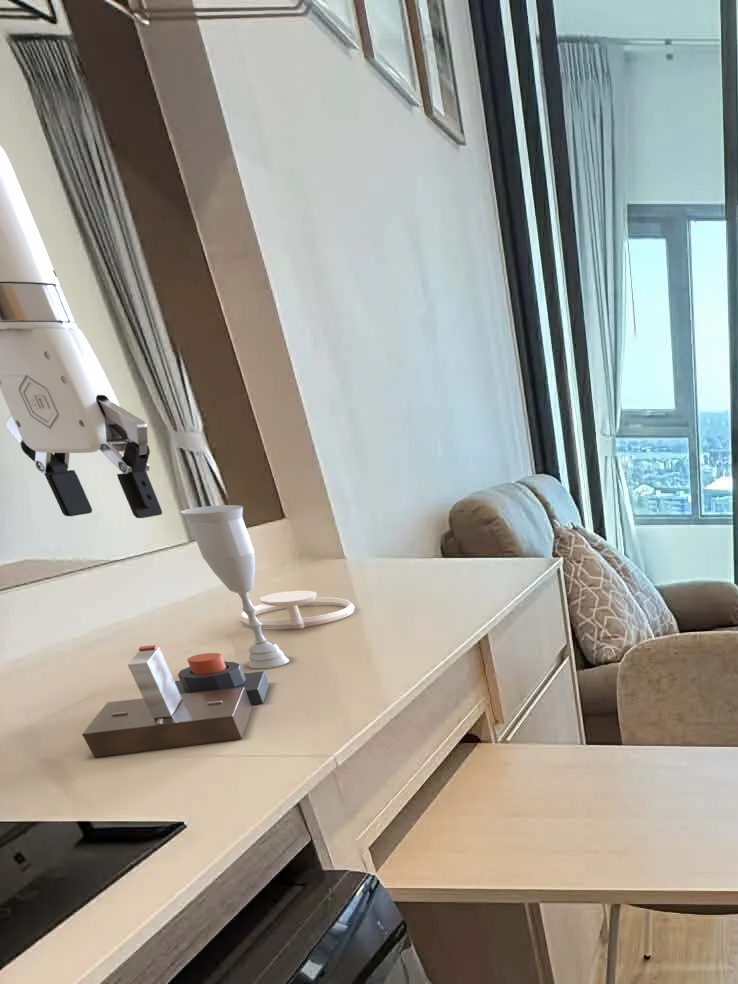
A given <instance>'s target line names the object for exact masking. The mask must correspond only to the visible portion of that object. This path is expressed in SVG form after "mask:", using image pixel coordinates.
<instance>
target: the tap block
mask: <svg viewBox="0 0 738 984" xmlns="http://www.w3.org/2000/svg"><path fill="white" fill-rule="evenodd" d="M180 695H181V698H182V699H181V701H180V703H179V704H178V706H177V708H176V710H175V711H174V713H173V715H172V716H171V717H162V718H152V715H151V713H150V711H149V709H148V707H147V705H146V703H145V701H144V698H143V697H142V698H134V699H125V700H117V701H107V702H106V703H105V705H104V706H103V707H102V709H100V710H99V712H98V714H97V715H95V717H94V718H93V719H92V721H91V722H90V723H89V725H87V727H86V728H85V730H84V731H83V732H82V734H81V735H82V737H83V739H84V740H85V743H86V745H87V747H88V748H89V750H90V752H91V754H92V756H93V758H103V757H113V756H118V755H120V756H121V755H125V754H126V755H128V754H133V753H134V754H135V753H142V752H151V751H158V750H167V749H173V748H174V749H175V748H181V747H183V748H184V747H189V746H197V745H204V744H205V745H207V744H213V743H221V742H229V741H236V740H242V739H243V736H244V734H245V732H246V731H245V730H246V728H247V725H248V722H249V720H250V717H251V714H252V711H253V705H251V703H250V700H249V698H248V695H247V693H246V690H245V688H244V687H239V688H230V689H222V690H213V691H204V692H195V693H186V694H180Z"/></svg>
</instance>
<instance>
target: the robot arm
mask: <svg viewBox="0 0 738 984" xmlns="http://www.w3.org/2000/svg"><path fill="white" fill-rule="evenodd" d="M0 391H1V393H2V396H3V399H4V401H5V404H6V406H7V409H8V411H9V413H10V414H9V416H8V418H7V419H6V420H5V422H4V424H5V428H6V429H7V430H8V432H9V434H11V436H12V437H13V438H14V439H15V440H16V442H17V443H18V444H19V445H20V448H21V450H22V451H23V453H24V454H25V455H26V456H27V457H28V458H30V459H31V460H32V461H33V462H34V465H35V468H36V469H37V471H39V472H40V473H42V474H44V476H45V479H46V481H47V483H48V485H49V487H50V489H51V492H52V493H53V496H54V498H55V500H56V502H57V504H58V506H59V509H60V511H61V513H62V515H63V516H65V517H75V516H81V515H88V514H91V513H92V512H93V508H92V505H91V503H90V501H89V499H88V496H87V495H86V492H85V490H84V488H83V485H82V484H81V481H80V479H79V476H78V474H77V473H76V471H75V469H69V463H70V454H88V453H95V452H98V451H99V450H100V451H101V453H102V454H103V455H104V456H105V457H106V458H107V459H108V461H110V462H111V463H112V464H113V465H114V466H115V467H116V468H117V469H118V470H119V472H121V473H117V474H116V475H117V479H118V481H119V484H120V486H121V489H122V491H123V494H124V496H125V499H126V501H127V503H128V505H129V508H130V510H131V513H132V515H133V516H134V517H135V518H137V519H146V518H150V517H156V516H161V515H162V514H163V510H162V507H161V505H160V502H159V500H158V497H157V495H156V493H155V490H154V488H153V485H152V483H151V480H150V478H149V475H148V473H147V472H149V471H150V464H149V462H148V460H149V458H150V453H151V450H150V449H151V448H150V446H149V445H148V444H149V440H148V439H149V438H148V437H149V436H148V427H147V426H148V425H147V424H146V422H145V421H144V420H143V419H142V418H140V417H138V416H136V415H134V414H133V413H132V412H129V411H128V410H126V409H125V408H123V407H121V406H120V404H119V402H118V399H117V397H116V395H115V393H114V391H113V388H112V387H111V384H110V382H109V380H108V377H107V376H106V374H105V371H104V370H103V368H102V365H101V364H100V362H99V360H98V358H97V356H96V354H95V352H94V350H93V349H92V347H91V345H90V343H89V342H88V339H87V338H86V336H85V335H84V333H83V331H82V329H81V328H78V325H77V323H76V320H75V318H74V315H73V313H72V310H71V308H70V306H69V303H68V301H67V299H66V296H65V294H64V291H63V289H62V286H61V284H60V281H59V279H58V276H57V273H56V271H55V269H54V267H53V264H52V262H51V259H50V257H49V254H48V252H47V250H46V247H45V245H44V242H43V239H42V237H41V234H40V232H39V230H38V228H37V225H36V222H35V220H34V217H33V215H32V212H31V210H30V207H29V205H28V203H27V199H26V198H25V195H24V193H23V190H22V188H21V185H20V183H19V181H18V178H17V176H16V173H15V171H14V168H13V166H12V164H11V161H10V159H9V157H8V154H7V153H6V151H5V149H4V148H3V147H2V145H0ZM121 453H122V454H123V455H122V454H121Z"/></svg>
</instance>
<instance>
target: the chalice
mask: <svg viewBox="0 0 738 984" xmlns="http://www.w3.org/2000/svg"><path fill="white" fill-rule="evenodd" d="M243 511H244V506H243V505H237V504H227V505H226V504H223V505H209V506H208V505H207V506H200V507H198V506H197V507H192V508H188V509H183V510H181V511H180V514H181V515H182V516H183V517H184V518H185V519H186V521H187V522H188V523H189V525H190V528H191V530H192V533H193V536H194V538H195V541H196V543H197V547H198V549H199V551H200V554H201V556H202V558H203V560H204V561H205V562H206V564H207V565H208V567H209V568H210V569H211V571H212V572H213V574H215V576H216V577H218V579H219V581H221V583H223V585H224V586H225V587H226V588H227V589H228V590H229V591H230V592H233V593H236V594H238V596H239V597H240V599H241V602H242V612H243V611H244V612H245V613H246V614H247V616H248V617H249V624H248V625H247V627H249V628H250V629H251V631H252V632H253V634H254V638H255V640H254V644H252V645H250V647H249V650H248V653H249V654H248V659H249V661H248V668H251V669H271V668H275V667H280V666H283V665H285V664H288V663H289V662H290V659H289V658H288V657H287V656H286V655H285V654H284V652H283V651H282V650H281V649H280V647H279V645H277V644H276V643H274V642H269V641H268V639H267V638H265V637H264V635H263V632H262V628H261V625H262V623H260V622H259V621H258V620H259V619H258V618H257V616H256V615H255V609H256V608H255V607H254V606H255V605H253V603H252V601H251V600H250V596H249V592H250V591H252V590H253V589H254V584H255V573H256V564H255V563H256V561H255V559H256V558H255V549H254V547H253V544H252V541H251V538H250V535H249V533H248V529H247V527H246V524H245V520H244V519H243V513H244V512H243ZM257 619H258V620H257Z"/></svg>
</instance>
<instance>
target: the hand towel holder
mask: <svg viewBox="0 0 738 984" xmlns="http://www.w3.org/2000/svg"><path fill="white" fill-rule="evenodd" d="M317 596H318V593H317V591H311V590H287V591H281V592H280V591H279V592H274V593H270V594H267V595H266V594H265V595H263V596H261V597H259V602H261V603H262V604H258V605H257V604H256V605H253V606H254V607H255V608H256V609H255V616H257V615H261V614H263V613H266V612H271V611H276V610H281V609H286V610H287V612H288V615H289V619H258V618H257V620H258V621H259V622H260V623H262V625H261V629H262V628H263V629H288V628H289V629H290V628H293V629H295V630H298V629H299V630H300V629H304V628H305V627H308V626H316V625H321V624H326V623H330V622H336V621H338V620H341V619H345V618H347V617H349V616H351V615H352V614H353V613H354V611H355V605H354V604H353V603H352V601H350V600H349V599H345V598H338V597H326V596H325V597H322V596H321V597H317ZM307 606H337V607H344V608H342V609H339V610H337V611H332V612H328V613H325V614H320V615H314V616H309V617H302V616H301V613H300V610H299V607H307ZM239 619H240V621H241V622H242V623H243V624H244V625H246V626H248V624H249V617H248V616H247V614H246V613H245V612H244V611H243V610H242V612H241V613H240V615H239Z"/></svg>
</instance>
